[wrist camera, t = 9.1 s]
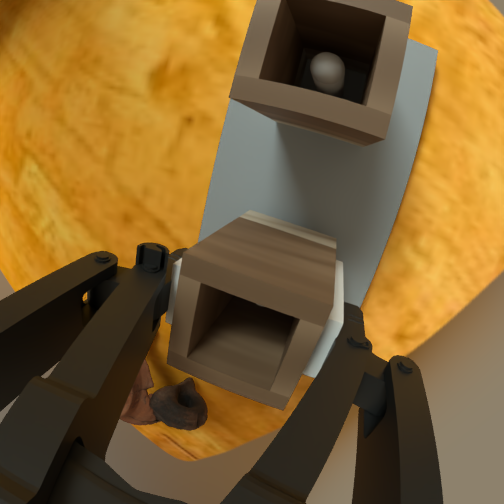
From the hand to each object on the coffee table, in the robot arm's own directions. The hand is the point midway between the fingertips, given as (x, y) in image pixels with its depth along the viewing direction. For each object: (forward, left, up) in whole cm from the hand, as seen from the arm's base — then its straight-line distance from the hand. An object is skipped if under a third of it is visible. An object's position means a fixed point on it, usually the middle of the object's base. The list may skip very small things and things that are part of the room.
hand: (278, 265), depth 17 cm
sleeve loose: (0, 0, -1) cm, 1 cm away
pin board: (-5, 0, -3) cm, 6 cm away
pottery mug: (+14, -7, -3) cm, 16 cm away
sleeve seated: (-10, 0, -2) cm, 10 cm away
